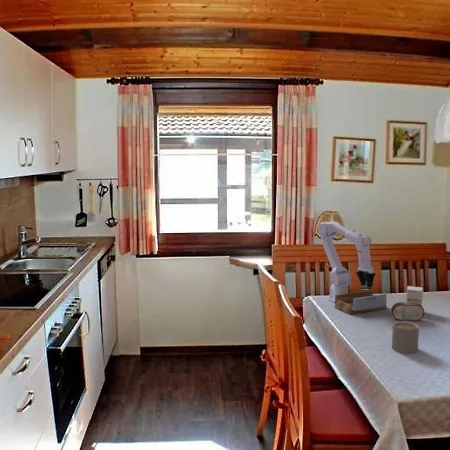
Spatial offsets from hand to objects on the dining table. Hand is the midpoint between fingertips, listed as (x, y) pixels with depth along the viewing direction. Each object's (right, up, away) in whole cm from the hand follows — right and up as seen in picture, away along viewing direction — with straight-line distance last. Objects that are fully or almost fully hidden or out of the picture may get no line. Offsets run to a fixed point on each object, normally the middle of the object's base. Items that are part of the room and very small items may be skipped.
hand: (366, 286), depth 252 cm
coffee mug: (+2, -19, -47) cm, 51 cm away
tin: (+16, -15, -13) cm, 25 cm away
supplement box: (+23, -13, -2) cm, 26 cm away
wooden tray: (-2, -12, +5) cm, 13 cm away
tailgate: (+1, -11, -1) cm, 11 cm away
